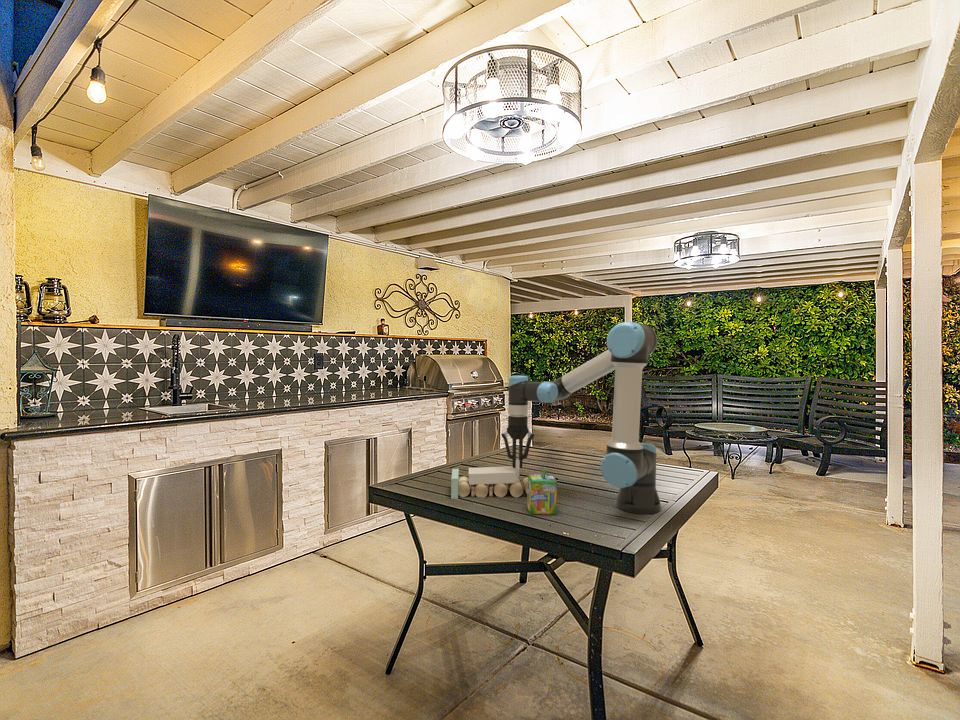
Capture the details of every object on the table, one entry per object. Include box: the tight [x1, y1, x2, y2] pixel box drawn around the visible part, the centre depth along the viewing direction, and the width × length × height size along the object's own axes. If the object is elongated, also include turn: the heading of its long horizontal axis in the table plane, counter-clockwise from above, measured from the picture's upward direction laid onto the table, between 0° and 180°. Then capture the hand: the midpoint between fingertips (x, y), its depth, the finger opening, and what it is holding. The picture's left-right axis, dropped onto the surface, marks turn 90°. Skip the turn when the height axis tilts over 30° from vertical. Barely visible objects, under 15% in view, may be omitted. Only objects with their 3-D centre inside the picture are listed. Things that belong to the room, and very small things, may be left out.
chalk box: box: [526, 466, 558, 515], centre depth 169 cm, size 9×9×15 cm
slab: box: [468, 465, 518, 486], centre depth 189 cm, size 10×18×4 cm, turn 91°
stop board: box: [450, 468, 460, 500], centre depth 189 cm, size 16×2×8 cm, turn 2°
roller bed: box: [458, 476, 528, 498], centre depth 189 cm, size 11×31×5 cm, turn 92°
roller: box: [474, 484, 489, 498], centre depth 189 cm, size 11×5×5 cm, turn 2°
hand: (517, 476), depth 190 cm, fingers closed
